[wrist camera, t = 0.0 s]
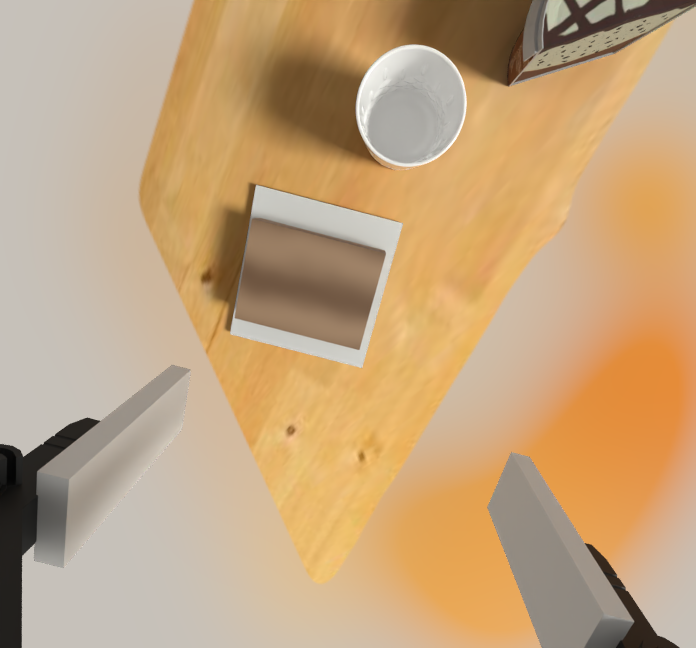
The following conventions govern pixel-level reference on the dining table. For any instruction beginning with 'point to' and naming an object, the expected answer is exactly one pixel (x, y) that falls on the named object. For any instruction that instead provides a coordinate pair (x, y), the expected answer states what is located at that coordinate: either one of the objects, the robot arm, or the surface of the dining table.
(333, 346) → the rubber mat
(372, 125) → the white cup
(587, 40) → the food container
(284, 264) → the walnut board
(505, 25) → the dining table surface
